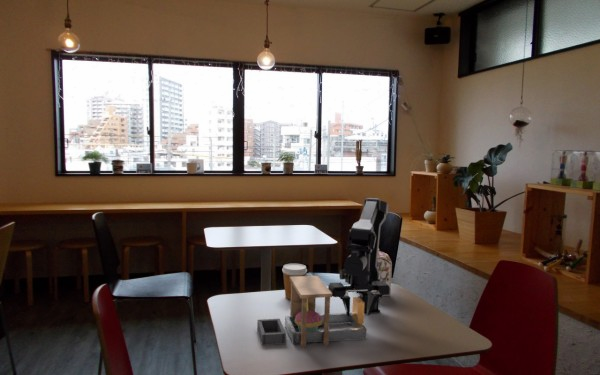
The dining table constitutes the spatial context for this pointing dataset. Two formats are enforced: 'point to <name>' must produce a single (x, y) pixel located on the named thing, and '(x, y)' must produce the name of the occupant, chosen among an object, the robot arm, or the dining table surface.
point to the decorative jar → (384, 268)
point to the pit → (271, 331)
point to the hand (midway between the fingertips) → (357, 315)
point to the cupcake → (309, 320)
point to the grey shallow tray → (334, 335)
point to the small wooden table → (309, 302)
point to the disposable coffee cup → (292, 271)
